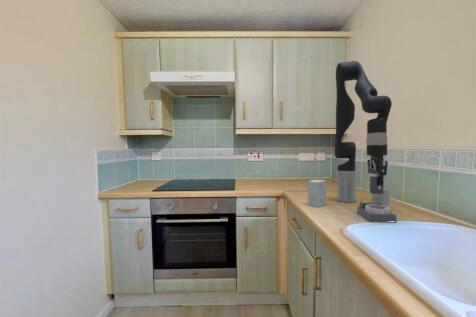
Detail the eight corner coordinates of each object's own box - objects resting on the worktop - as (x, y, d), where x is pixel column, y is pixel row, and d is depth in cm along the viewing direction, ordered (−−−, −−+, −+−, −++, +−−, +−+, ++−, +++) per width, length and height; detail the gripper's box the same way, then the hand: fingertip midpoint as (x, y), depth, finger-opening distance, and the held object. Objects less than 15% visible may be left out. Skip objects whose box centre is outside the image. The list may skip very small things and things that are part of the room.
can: (383, 207, 119) (383, 183, 119) (393, 211, 112) (393, 185, 111) (368, 207, 119) (368, 183, 119) (377, 211, 112) (377, 186, 111)
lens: (367, 191, 103) (367, 168, 103) (380, 191, 102) (380, 168, 102) (372, 193, 98) (372, 169, 98) (386, 193, 97) (386, 169, 97)
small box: (315, 202, 132) (315, 179, 132) (326, 204, 128) (326, 180, 127) (307, 205, 127) (307, 181, 126) (319, 207, 122) (318, 182, 122)
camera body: (357, 212, 110) (357, 200, 110) (380, 213, 109) (380, 200, 109) (369, 221, 96) (369, 207, 96) (396, 222, 95) (396, 208, 95)
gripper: (360, 144, 107) (361, 182, 108) (374, 143, 93) (374, 187, 94) (378, 144, 106) (378, 182, 107) (395, 143, 92) (395, 187, 92)
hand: (376, 184), depth 100 cm, fingers closed on lens, 5 cm apart
